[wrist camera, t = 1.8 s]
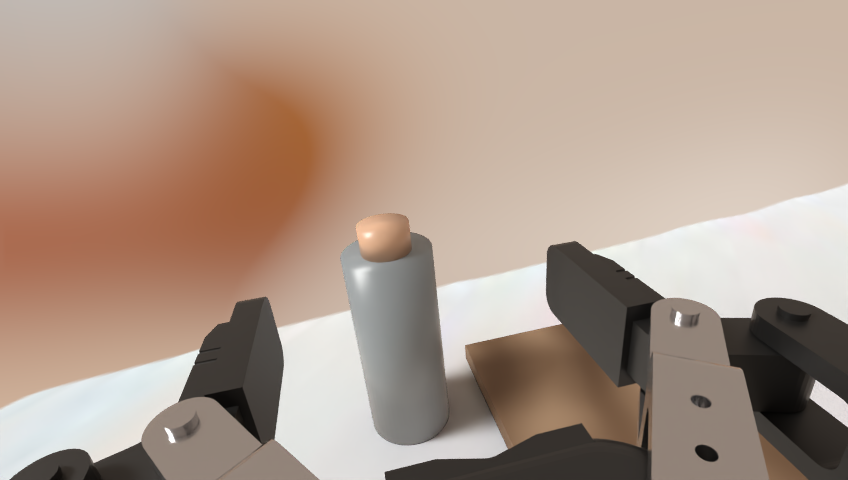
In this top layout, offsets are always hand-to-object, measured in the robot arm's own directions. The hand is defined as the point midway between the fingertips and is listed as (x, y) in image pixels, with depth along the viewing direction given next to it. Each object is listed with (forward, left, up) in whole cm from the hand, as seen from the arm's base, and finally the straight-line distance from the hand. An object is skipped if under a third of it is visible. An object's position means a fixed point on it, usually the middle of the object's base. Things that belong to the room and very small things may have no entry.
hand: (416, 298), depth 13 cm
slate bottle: (0, -11, -16) cm, 19 cm away
